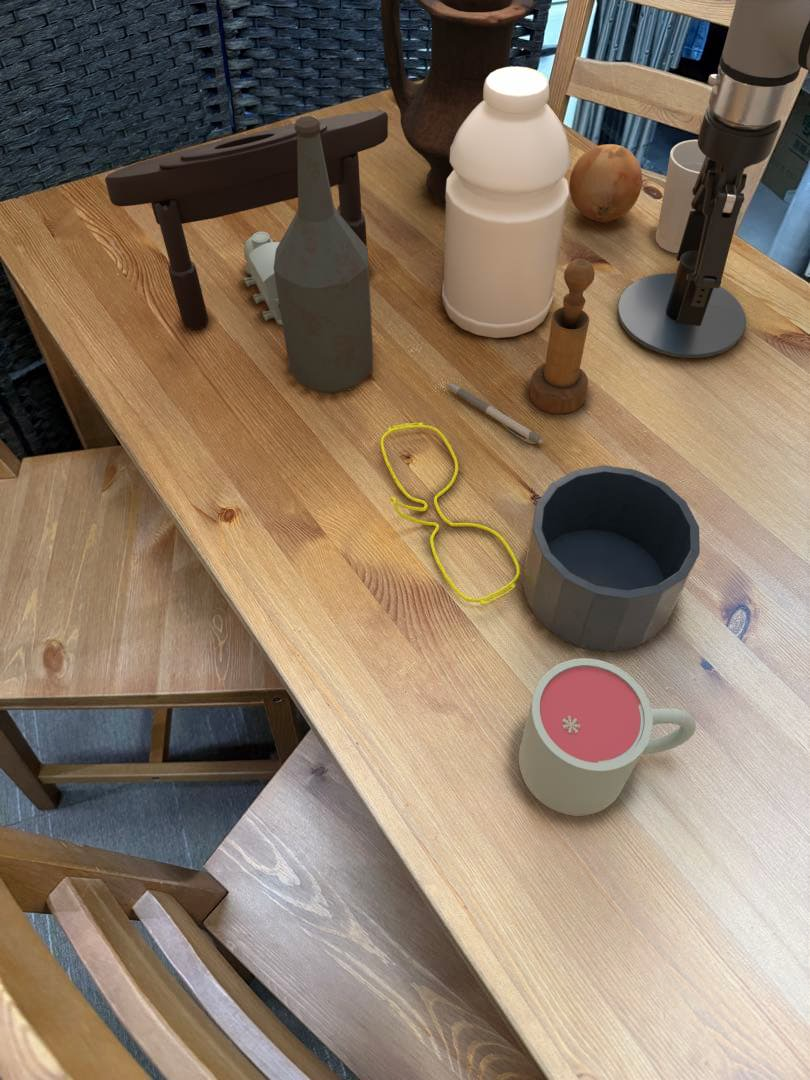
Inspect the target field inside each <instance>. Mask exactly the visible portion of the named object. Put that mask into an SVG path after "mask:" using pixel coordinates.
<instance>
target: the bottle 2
mask: <svg viewBox="0 0 810 1080" xmlns="http://www.w3.org/2000/svg"><path fill="white" fill-rule="evenodd" d="M549 82H550V81H549V79H548V78H547V77H546V75H545V74H544V73H542V72H540V71H538V70H537V69H534V68H530V67H526V66H509V67H505V68H501V69H497V70H495V71H494V72H492V73H490V75H489V76H488V77H487V78H486V80H485V83H484V89H483V99H484V100H483V101H482V102H481V103H480V104H479V105H478V106H476V108H475V109H474V110H473V111H472V112H471V113H470V115H469V116H468V117H467V119H466V120H465V121H464V122H463V124H462V125H461V127H460V128H459V130H458V132H457V134H456V136H455V138H454V141H453V143H452V145H451V147H450V164H451V165H452V167H453V169H454V170H453V171H452V173H451V174H450V175H449V177H448V178H447V182H446V196H445V197H446V205H445V235H444V263H443V264H444V267H443V282H442V291H441V292H442V293H441V298H442V304H443V308H444V310H445V312H446V313H447V316H448V318H449V319H450V320H451V321H452V322H453V323H454V324H455V325H457V326H458V327H459V328H460V329H462V330H464V331H467V332H469V333H471V334H474V335H476V336H480V337H481V336H482V337H487V338H494V339H499V338H511V337H512V338H513V337H517V336H520V335H523V334H527V333H530V332H531V331H534V329H536V328H537V327H538V326H539V325H541V324H542V323H544V321H545V319H546V317H547V316H548V313H549V312H550V309H551V307H552V304H553V301H554V294H553V293H554V287H555V281H556V276H557V269H558V263H559V257H560V251H561V244H562V238H563V231H564V225H565V220H566V219H565V218H566V215H567V214H566V213H567V208H568V203H569V199H570V189H569V183H568V180H567V178H566V177H565V176H566V174H567V172H568V171H569V169H570V168H571V166H572V155H571V148H570V145H569V140H568V135H567V133H566V130H565V127H564V126H563V123H562V122H561V120H560V119H559V117H558V116H557V114H556V113H555V112H554V110H553V109H552V108H551V107H550V105H549V104H548V101H549V100H550V83H549Z"/></svg>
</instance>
